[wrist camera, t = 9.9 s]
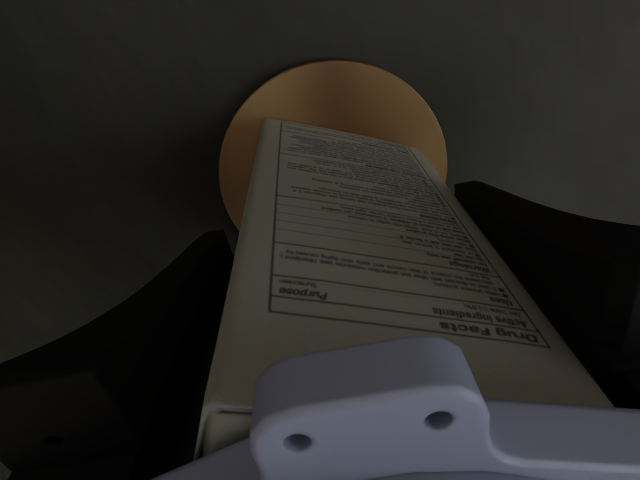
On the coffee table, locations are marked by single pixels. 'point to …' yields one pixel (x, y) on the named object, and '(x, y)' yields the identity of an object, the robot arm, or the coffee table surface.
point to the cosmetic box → (370, 277)
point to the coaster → (328, 117)
